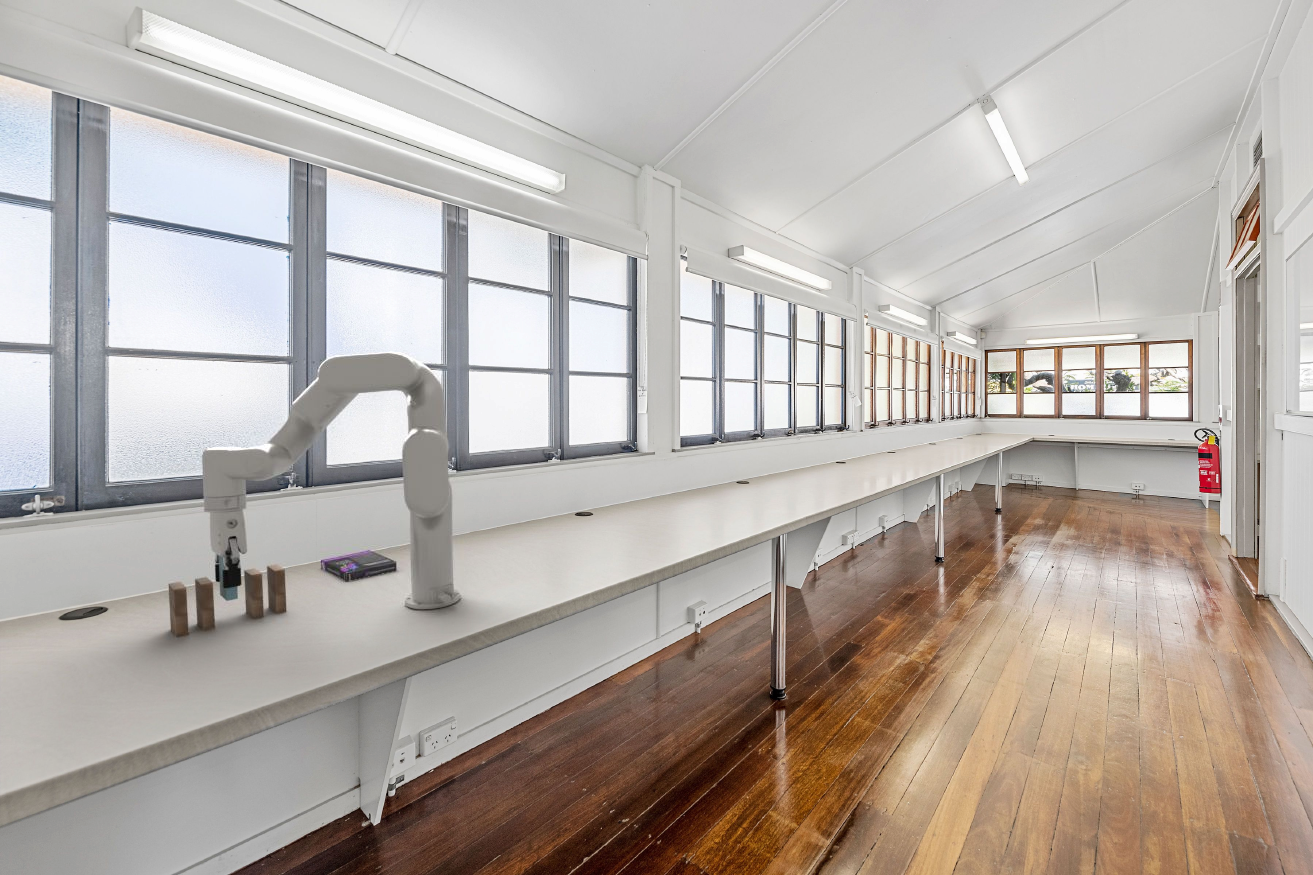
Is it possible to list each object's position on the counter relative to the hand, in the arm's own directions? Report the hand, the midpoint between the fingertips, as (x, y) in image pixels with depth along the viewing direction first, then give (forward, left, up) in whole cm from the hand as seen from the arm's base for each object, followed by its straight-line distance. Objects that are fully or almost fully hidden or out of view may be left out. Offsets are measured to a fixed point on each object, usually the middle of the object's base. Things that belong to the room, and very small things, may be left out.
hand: (228, 582), depth 130 cm
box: (+20, -35, -9) cm, 42 cm away
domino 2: (0, +4, -8) cm, 9 cm away
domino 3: (0, 0, -3) cm, 3 cm away
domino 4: (0, -5, -8) cm, 10 cm away
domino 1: (0, +9, -8) cm, 12 cm away
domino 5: (0, -9, -8) cm, 12 cm away
